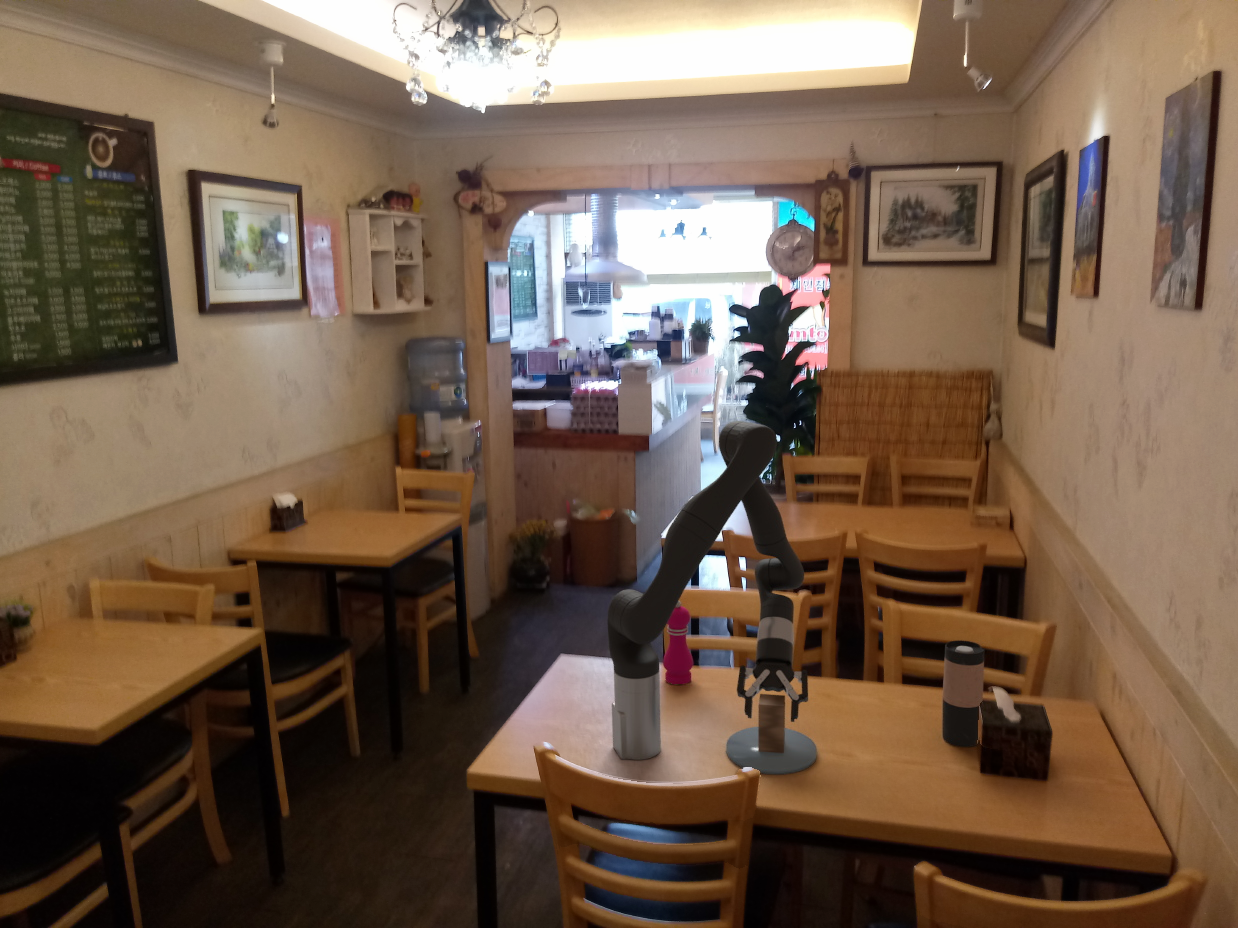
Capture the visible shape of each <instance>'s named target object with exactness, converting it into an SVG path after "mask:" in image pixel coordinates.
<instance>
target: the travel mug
mask: <svg viewBox="0 0 1238 928" xmlns="http://www.w3.org/2000/svg"><path fill="white" fill-rule="evenodd" d="M985 652H986V651H985V649H983V648H982V647H981V645H980V644H979V643H977V642H975V641H970V640H959V639H958V640H957V639H956V640H951V641H948V642H947V643H945V646H944V665H943V683H942V721H941V722H942V731H941V732H942V739H943V740H944V742H946V743H948V744H950V745H952V746H954V747H955V746H956V747H961V748H971V747H975V746H977V745H978V744H977V740H978V720H979V706H980V703H981V702H982V701H983V699H984V673H985ZM982 703H983V702H982Z"/></svg>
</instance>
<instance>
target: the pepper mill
mask: <svg viewBox="0 0 1238 928" xmlns="http://www.w3.org/2000/svg"><path fill="white" fill-rule="evenodd" d="M690 621H691V614H690V611H689V610H688V608H686V607H684V606H682V602H681V601H680V600H679V601H678V603H677V605H676V607H675V609H674V611H673V613H672V615H671V617H670V619H669V621H668V623H667V624H666V626H667V627H666V628H667V633H668V637H669V642H668V647H667V649H666V651H665V653H664V656H663V662H662V664H663V668H664V669H665V674H664V677H665V679H666V680H665V681H666V683H668V682H669V683H668V684H670V683H672V684H671V685H674V684H683V685H686V683H687V684H689V683H691V681H692V672H691V669H692V668H693V666H694V659H693V658H694V657H693V656H692V653H691V650H690V649H689V645H688V643H687V634H689V626H688V624H689V623H690Z"/></svg>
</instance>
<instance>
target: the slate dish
mask: <svg viewBox="0 0 1238 928" xmlns="http://www.w3.org/2000/svg"><path fill="white" fill-rule="evenodd" d="M725 744H726V749H725V750H726V754H727V757H728V758H729V760H730V761H731V762H732V763H734V764H735V765H737V766H738V767H740V768H742V769H744V768H743V767H752V768H754V769H757V770H759V771H760V772H761V773H760V774H762V775H763V774H764V775H789V773H790V774H793V773H798V772H801V771H802V772H803V771H804V770H806V769H808V768H810V767H811V766H812V765H813V764H814V763H815V761H816V760H817V754H818V752H817V750H818V749H817V745H816V743H815V741H813V740H812V739H811V737H809V736H807V735H806V734H804V733H802V732H799V731H797V730H795V729H791V728H787V727H785V744H784V753H775V752H762V751H758V726H752V727H746V728H744V729H741V730H738V731H736V732H735V733H733V734H731V735H730V736H729V737H728V739H727V740H726V743H725Z"/></svg>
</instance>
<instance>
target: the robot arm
mask: <svg viewBox="0 0 1238 928" xmlns="http://www.w3.org/2000/svg"><path fill="white" fill-rule="evenodd" d="M719 433H720V434H719V437H718V448H719V452H720V454H721V457H722V459H723V462H724V464H725V466H726V467H725V469H724V471H723V472H722V473H721V474H720V475H719V476H718V477H717V478H716V479H715V480H714V481H713V482H712V483H710V484H709V485H707V486H706V487H705V488H703V489H702V490H700V491H698V492H697V493H696V494H695V495H694V496H692V497H691V498H690V499H689V500H688V501H686V503H685V504H684V505H683V506H682V507H681V509H680V510H679V512H678V514H677V515H676V517H675V518H674V519H673V521H672V523H671V524H670V525H669V528H668V529H667V532H666V534H665V537H664V543H663V549H662V553H661V554H662V555H661V561H660V565H659V568H658V570H657V573H656V575H655V577H654V578H653V580H652V581H651V583H650V584H649V585H648V588H647V589H646V590H645V592H644V593H643V592H641V591H639V590H635V589H631V588H629V589H623V590H621V591H619V592H618V593H616V594H615V595H614V596H613V597H612V599H611V601H610V603H609V606H608V609H607V617H606V618H607V620H606V621H607V638H608V649H609V650H608V651H609V655H610V659H611V661H612V663H613V682H614V683H613V690H614V702H612V703H611V725H612V726H611V727H612V732H611V733H612V747H613V749H614V750H615V752H616V753H617V755H618V756H619V758H620V759H621V760H625V759H627V760H639V761H640V760H648V759H651V758H653V757H655V756H657V755H659V753H660V752H661V749H662V743H661V742H662V738H661V689H660V688H661V686H660V685H661V684H660V681H661V680H660V679H661V677H660V674H661V673H660V671H661V670H660V657H659V654H658V653H657V651H656V650H655V649H654V647H653V645H652V642H654V641H655V640H657V639H658V637H660V635H661V634H662V633H663V631H664V629H665V628H666V626H667V625H668V624H667V623H668V621H669V619H670V617H671V615H672V613H673V611H674V609H675V607H676V605H677V603H678V601H680V599H681V597H682V594H683V593H684V591H685V590H686V587H687V585H688V584H689V582H690V581H691V579H692V578H693V576H694V575H695V573H696V572H697V569H698V568H699V566H700V564H701V563H702V562H703V559H705V556H706V555H707V554H708V553H709V551H710V550H711V548H712V546H713V545H714V543H715V542H716V540H717V538H718V537H719V536H720V533H721V532H722V530H723V529H724V527H725V525H726V523H727V522H728V521H729V519H730V518H731V516H732V515H733V513H734V512H735V511H736V509H737V507H738V506H739V504H740V503H741V502H742V505H743V509H744V511H745V514H746V516H747V520H748V524H749V528H750V531H751V535H752V536H751V537H752V539H753V543H754V547H755V550H756V551H757V552H758V553H759V554H760V555H763V556H768V557H773V558H763V559H761V560H759V561H758V562H757V564H756V565H755V567H754V578H755V583H756V586H757V590H758V594H759V603H760V612H759V613H760V614H759V624H758V628H757V629H758V630H757V639H756V653H755V655H756V656H755V666H754V667H753V668H750V667H746V665H740V667H739V672H738V678H737V685H736V686H737V687H736V692H737V696H738V698H743V699H744V715H745V716H747V719H753V718H752V716H753V699H754V698H755V697H756V695H758V694H760V692H761V691H762V690H764V691H765V692H772V691H774V692H777V693H781V692H782V691H784V693H785V694H786V695H787V697H788V698H789V699H790V700H791V706H790V722H791V723H795V722H796V721H795V720H798V718H799V706H800V704H801V703H807V702H808V701H809V683H808V682H809V679H808V670H807V669H802V670H801V671H795V670H794V668H793V663H794V661H793V660H794V646H795V645H794V644H795V642H794V637H795V635H794V634H795V632H794V613H795V612H794V611H795V610H794V608H795V607H794V602H793V600H792V599H791V598H790V597H789V596H788V595H787V596H786V595H783V594H780V593H779V594H778V593H775V592H774V591H784V590H785V591H786V590H795V589H796V590H797V589H799V588H800V587H801V586H802V585H803V583H804V579H805V570H804V567H803V565H802V563H801V560H800V559H799V557H798V555H797V554H796V553H795V551H794V549H793V547H792V546H791V544H790V542H789V540H788V537H787V534H786V530H785V529H786V528H785V526H784V521H783V518H782V515H781V512H780V510H779V508H778V506H777V504H776V502H775V501H774V498H773V497H772V496H771V494H770V492H769V491H768V489H767V487H766V486H765V484H764V483H763V480H762V479H761V475H762V474H763V472H764V471H765V470H766V469H767V467H768V466H769V464H771V462H772V460H773V458H774V456H775V454H776V451H777V445H778V439H777V435H776V432H775V431H774V430H773V429H772V428H771V427H768V426H766V425H764V424H760V423H759V424H758V423H754V422H749V421H744V420H732V421H730V422H728V423H727V424H725V425H724V426H723V428H722V430H721V432H719ZM773 592H774V593H773ZM750 676H753V677H754V679H755V680H754V681H753V683H752V684H751V686H750V687H749V688H748V689H747V690H746V689H745V685H746V680H748V679H749V678H750ZM795 678H796V680H797V682H798V683H800V684H801V693H799V694H798V693H797V692H796V691H795V689H794V687H793V686H792V684H791V682H792V681H793V680H794V679H795Z"/></svg>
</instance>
